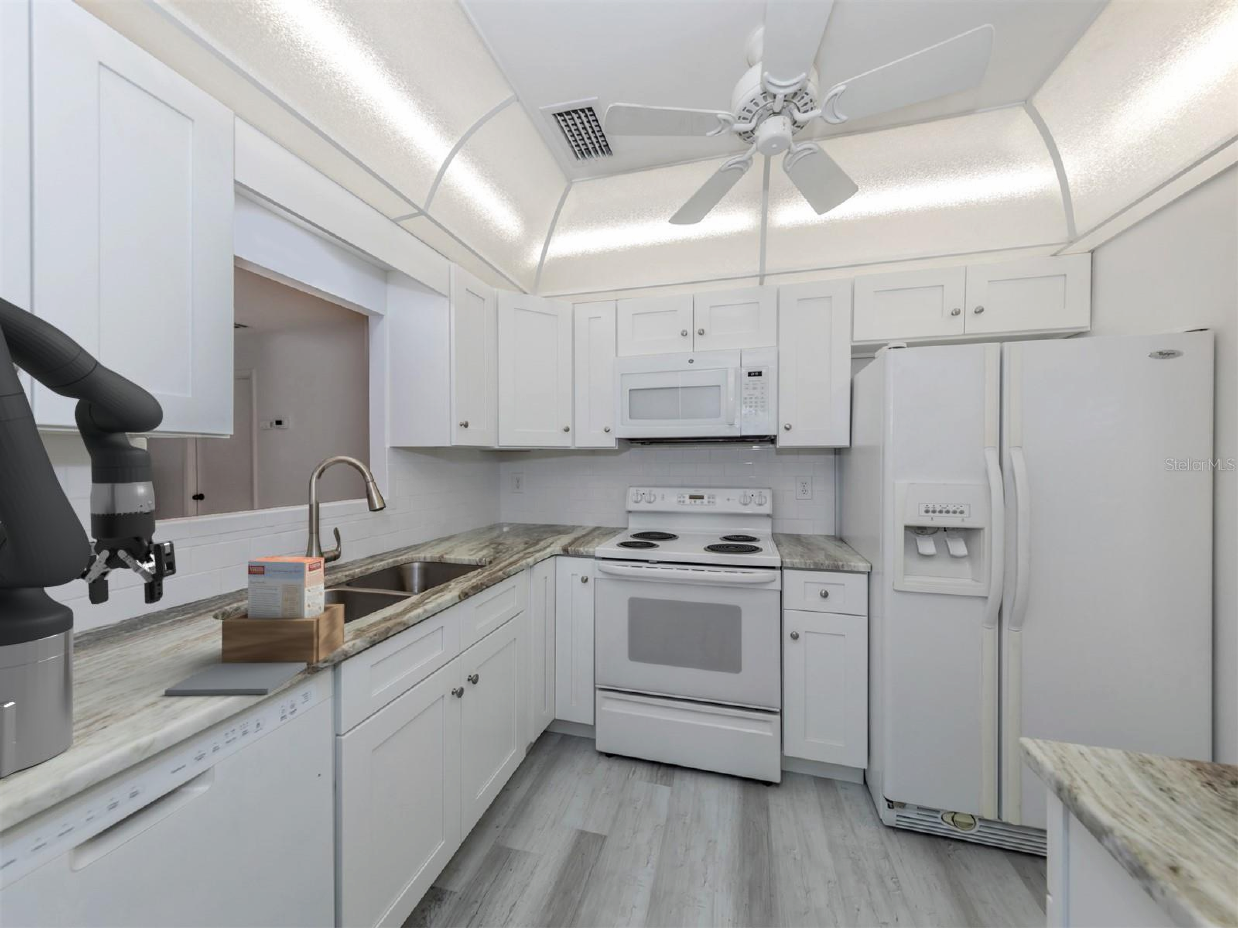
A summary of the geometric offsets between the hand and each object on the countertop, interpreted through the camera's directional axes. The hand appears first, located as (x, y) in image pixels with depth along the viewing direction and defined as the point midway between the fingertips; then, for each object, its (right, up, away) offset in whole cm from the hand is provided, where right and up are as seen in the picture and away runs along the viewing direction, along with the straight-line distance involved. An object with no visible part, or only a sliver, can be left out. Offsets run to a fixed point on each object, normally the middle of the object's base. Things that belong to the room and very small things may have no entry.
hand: (126, 602), depth 80 cm
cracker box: (+11, -18, +22) cm, 31 cm away
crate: (+11, -18, +22) cm, 31 cm away
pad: (+12, -18, +9) cm, 23 cm away
